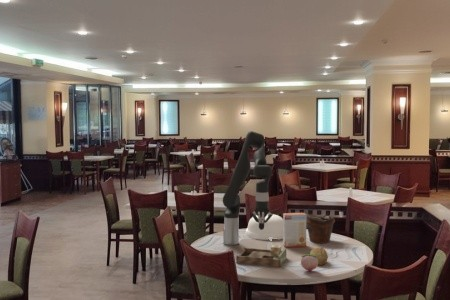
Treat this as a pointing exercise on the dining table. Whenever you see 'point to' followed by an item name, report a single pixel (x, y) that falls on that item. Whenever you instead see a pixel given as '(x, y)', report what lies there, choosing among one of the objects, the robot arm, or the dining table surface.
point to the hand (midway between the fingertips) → (261, 229)
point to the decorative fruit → (309, 261)
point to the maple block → (275, 250)
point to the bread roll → (320, 255)
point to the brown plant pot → (319, 228)
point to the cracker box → (294, 229)
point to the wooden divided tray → (261, 257)
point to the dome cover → (266, 228)
